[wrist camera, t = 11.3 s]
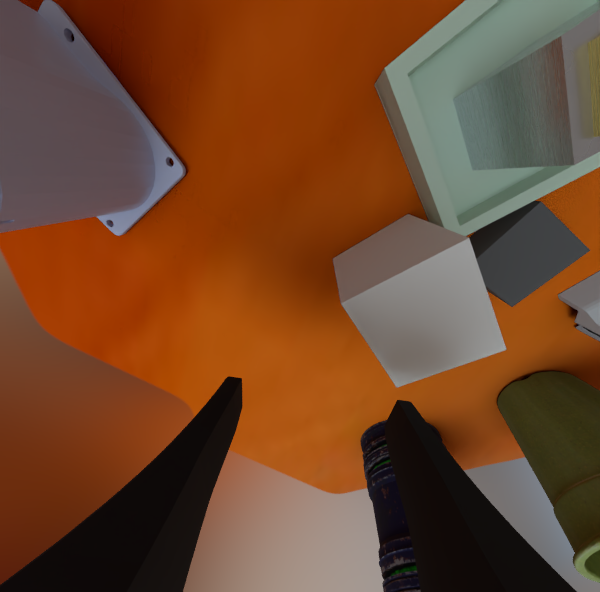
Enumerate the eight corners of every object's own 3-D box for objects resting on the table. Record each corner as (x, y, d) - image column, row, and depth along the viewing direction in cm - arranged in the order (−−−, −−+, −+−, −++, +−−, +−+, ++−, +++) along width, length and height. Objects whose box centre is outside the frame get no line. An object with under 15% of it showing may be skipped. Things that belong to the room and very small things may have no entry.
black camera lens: (343, 441, 29) (365, 663, 16) (404, 406, 25) (503, 666, 11) (395, 469, 31) (452, 683, 18) (458, 442, 27) (591, 691, 14)
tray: (374, 84, 12) (384, 67, 10) (599, -101, 9) (671, -172, 7) (434, 236, 16) (450, 244, 14) (611, 140, 13) (662, 134, 11)
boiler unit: (329, 260, 17) (336, 305, 11) (408, 213, 15) (469, 237, 9) (375, 333, 20) (400, 401, 14) (446, 302, 18) (511, 365, 12)
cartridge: (452, 99, 12) (575, 27, 6) (539, 38, 11) (790, -121, 5) (472, 170, 13) (586, 164, 8) (551, 123, 12) (755, 76, 6)
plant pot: (619, 334, 19) (965, 514, 9) (597, 418, 23) (802, 594, 13) (465, 367, 21) (592, 530, 12) (473, 436, 26) (568, 591, 16)
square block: (445, 257, 17) (464, 269, 15) (507, 198, 15) (541, 201, 12) (488, 291, 18) (512, 306, 16) (551, 240, 16) (590, 250, 14)
